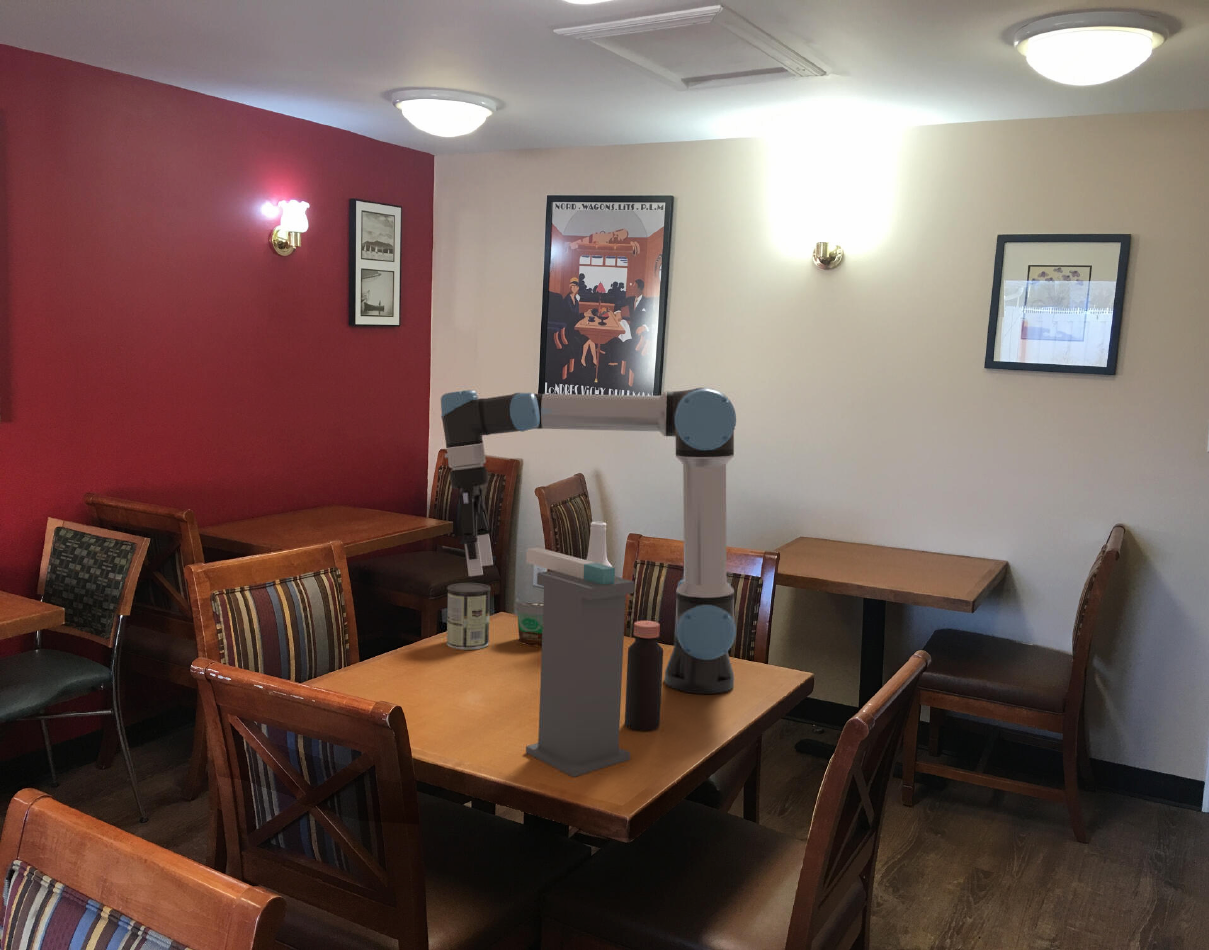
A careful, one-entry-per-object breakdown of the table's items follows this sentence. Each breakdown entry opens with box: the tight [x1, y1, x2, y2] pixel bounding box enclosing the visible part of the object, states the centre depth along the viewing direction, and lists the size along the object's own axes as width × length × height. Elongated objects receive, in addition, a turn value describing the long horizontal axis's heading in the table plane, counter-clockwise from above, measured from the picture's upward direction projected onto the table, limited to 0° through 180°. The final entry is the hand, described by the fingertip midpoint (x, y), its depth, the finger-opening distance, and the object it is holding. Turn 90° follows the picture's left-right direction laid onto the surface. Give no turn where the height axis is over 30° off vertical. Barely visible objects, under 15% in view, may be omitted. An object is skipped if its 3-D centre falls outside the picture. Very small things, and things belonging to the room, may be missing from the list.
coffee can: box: [446, 582, 491, 651], centre depth 242 cm, size 10×10×14 cm
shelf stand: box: [525, 570, 635, 778], centre depth 175 cm, size 14×13×32 cm
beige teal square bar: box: [525, 547, 616, 585], centre depth 176 cm, size 21×3×3 cm, turn 42°
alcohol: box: [585, 521, 613, 567], centre depth 247 cm, size 9×9×30 cm
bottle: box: [624, 620, 664, 732], centre depth 192 cm, size 7×7×20 cm
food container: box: [514, 598, 544, 646], centre depth 245 cm, size 12×6×10 cm, turn 81°
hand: (481, 570), depth 205 cm, fingers open, 13 cm apart
